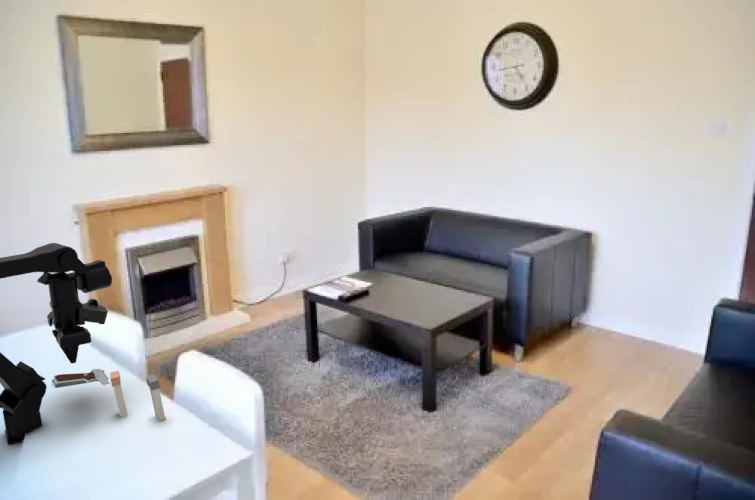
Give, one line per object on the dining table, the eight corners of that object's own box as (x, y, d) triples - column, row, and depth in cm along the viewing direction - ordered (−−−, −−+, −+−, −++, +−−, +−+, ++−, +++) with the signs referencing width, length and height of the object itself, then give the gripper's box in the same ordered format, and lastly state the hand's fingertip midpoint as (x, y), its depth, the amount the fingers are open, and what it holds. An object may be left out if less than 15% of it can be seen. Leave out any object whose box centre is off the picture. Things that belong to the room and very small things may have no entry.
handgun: (72, 412, 141) (125, 396, 148) (50, 374, 158) (98, 361, 165) (74, 422, 142) (126, 405, 149) (51, 383, 158) (99, 369, 166)
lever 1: (119, 418, 139) (110, 378, 136) (119, 411, 142) (110, 372, 139) (128, 415, 139) (118, 376, 136) (127, 409, 142) (118, 370, 139)
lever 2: (158, 422, 137) (150, 382, 134) (154, 415, 140) (145, 377, 137) (166, 419, 138) (158, 379, 135) (162, 412, 141) (153, 374, 138)
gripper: (112, 303, 134) (118, 367, 138) (93, 281, 149) (100, 340, 153) (56, 313, 128) (65, 379, 132) (43, 289, 142) (51, 350, 146)
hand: (72, 361), depth 141 cm, fingers closed
